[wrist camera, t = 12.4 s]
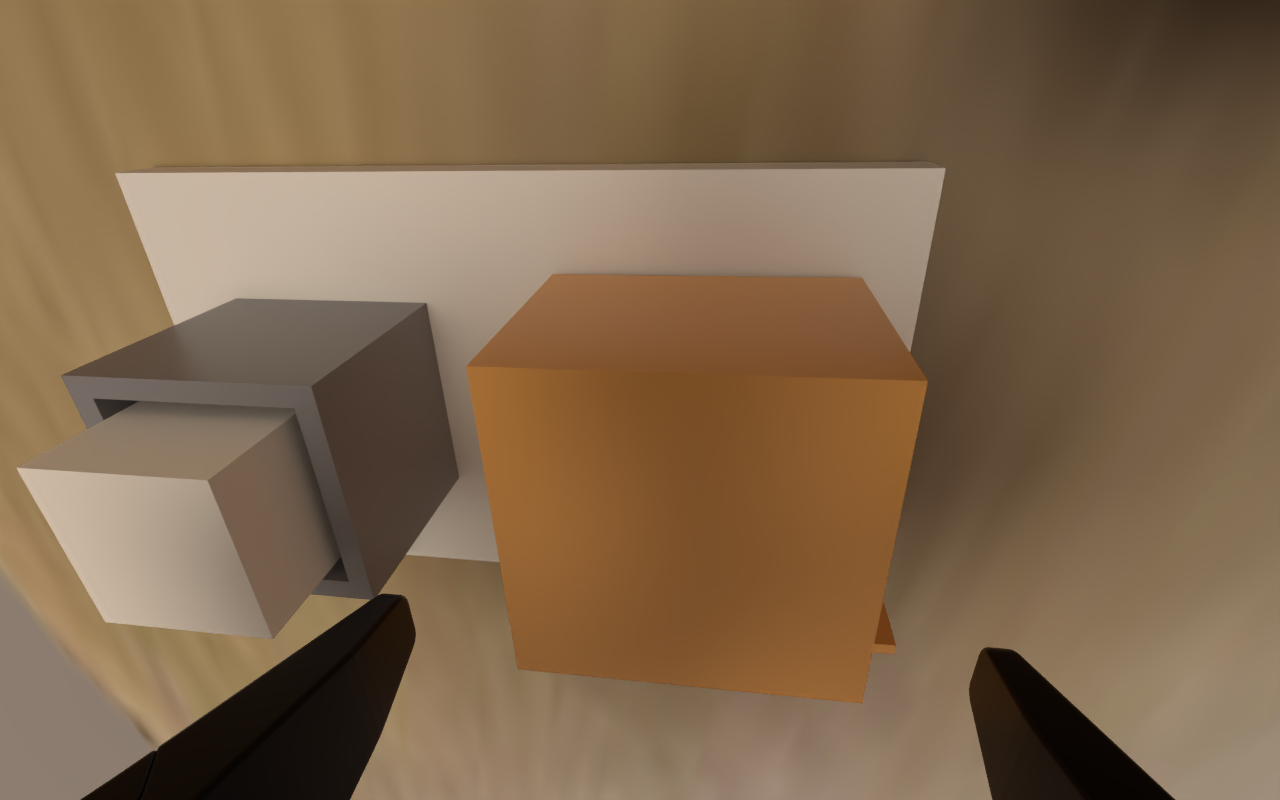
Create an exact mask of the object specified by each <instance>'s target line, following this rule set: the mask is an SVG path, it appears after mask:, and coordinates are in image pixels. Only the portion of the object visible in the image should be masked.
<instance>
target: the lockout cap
mask: <svg viewBox="0 0 1280 800" xmlns="http://www.w3.org/2000/svg"><path fill="white" fill-rule="evenodd" d="M466 369H467V375H468V381H469V387H470V393H471V398H472V404H473V410H474V416H475V422H476V428H477V433H478V439H479V445H480V451H481V457H482V463H483V468H484V474H485V480H486V486H487V492H488V498H489V503H490V509H491V515H492V521H493V527H494V533H495V538H496V544H497V550H498V556H499V562H500V568H501V573H502V579H503V585H504V591H505V597H506V603H507V608H508V614H509V620H510V626H511V632H512V638H513V643H514V649H515V655H516V661H517V667H518V669H522V670H532V671H542V672H552V673H562V674H572V675H582V676H592V677H602V678H612V679H622V680H632V681H642V682H652V683H662V684H672V685H682V686H692V687H702V688H712V689H722V690H732V691H742V692H752V693H762V694H772V695H782V696H792V697H802V698H812V699H822V700H832V701H842V702H852V703H862V701H863V696H864V691H865V686H866V682H867V677H868V672H869V667H870V662H871V657H872V652H873V647H874V643H875V638H876V633H877V628H878V623H879V618H880V613H881V608H882V603H883V599H884V594H885V589H886V584H887V579H888V574H889V569H890V564H891V559H892V555H893V550H894V545H895V540H896V535H897V530H898V525H899V520H900V516H901V511H902V506H903V501H904V496H905V491H906V486H907V481H908V476H909V472H910V467H911V462H912V457H913V452H914V447H915V442H916V437H917V432H918V428H919V423H920V418H921V413H922V408H923V403H924V398H925V393H926V388H927V384H928V380H927V379H926V377H925V376H924V374H923V372H922V371H921V369H920V368H919V366H918V365H917V363H916V361H915V360H914V358H913V357H912V355H911V354H910V352H909V350H908V349H907V347H906V346H905V344H904V342H903V341H902V339H901V338H900V336H899V335H898V333H897V331H896V330H895V328H894V327H893V325H892V324H891V322H890V320H889V319H888V317H887V316H886V314H885V313H884V311H883V309H882V308H881V306H880V305H879V303H878V301H877V300H876V298H875V297H874V295H873V294H872V292H871V290H870V289H869V287H868V286H867V284H866V283H865V281H864V279H863V278H842V277H750V276H658V275H566V274H552V275H551V276H550V277H549V278H548V280H547V281H546V282H545V283H544V284H543V285H542V286H541V287H540V288H539V289H538V290H537V291H536V292H535V293H534V294H533V295H532V297H531V298H530V299H529V300H528V301H527V302H526V303H525V304H524V305H523V306H522V307H521V308H520V309H519V310H518V311H517V313H516V314H515V315H514V316H513V317H512V318H511V319H510V320H509V321H508V322H507V323H506V324H505V325H504V326H503V327H502V329H501V330H500V331H499V332H498V333H497V334H496V335H495V336H494V337H493V338H492V339H491V340H490V341H489V342H488V343H487V344H486V346H485V347H484V348H483V349H482V350H481V351H480V352H479V353H478V354H477V355H476V356H475V357H474V358H473V359H472V360H471V362H470V363H469V364H468V365H467V366H466Z"/></svg>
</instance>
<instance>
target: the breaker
mask: <svg viewBox="0 0 1280 800" xmlns="http://www.w3.org/2000/svg"><path fill="white" fill-rule="evenodd" d="M17 470H18V472H19V474H20V475H21V477H22V479H23V480H24V482H25V484H26V486H27V487H28V489H29V491H30V493H31V494H32V496H33V498H34V500H35V501H36V503H37V505H38V506H39V508H40V510H41V512H42V513H43V515H44V517H45V519H46V520H47V522H48V524H49V526H50V527H51V529H52V531H53V532H54V534H55V536H56V538H57V539H58V541H59V543H60V545H61V546H62V548H63V550H64V551H65V553H66V555H67V557H68V558H69V560H70V562H71V564H72V565H73V567H74V569H75V571H76V572H77V574H78V576H79V577H80V579H81V581H82V583H83V584H84V586H85V588H86V590H87V591H88V593H89V595H90V597H91V598H92V600H93V602H94V603H95V605H96V607H97V609H98V610H99V612H100V614H101V616H102V617H103V619H104V621H105V622H110V623H120V624H130V625H140V626H149V627H159V628H169V629H178V630H188V631H198V632H208V633H217V634H227V635H237V636H247V637H256V638H266V639H274V637H275V636H276V635H277V634H278V633H279V631H280V630H281V629H282V628H283V627H284V625H285V624H286V623H287V622H288V621H289V619H290V618H291V617H292V616H293V614H294V613H295V612H296V611H297V610H298V608H299V607H300V606H301V605H302V604H303V602H304V601H305V600H306V599H307V598H308V596H309V595H310V594H311V593H312V591H313V590H314V589H315V588H316V587H317V585H318V584H319V583H320V582H321V581H322V579H323V578H324V577H325V576H326V575H327V573H328V572H329V571H330V570H331V568H332V567H333V566H334V565H335V564H336V562H337V561H338V560H339V559H340V558H341V555H340V552H339V549H338V545H337V542H336V539H335V536H334V533H333V530H332V526H331V523H330V520H329V517H328V514H327V510H326V507H325V504H324V501H323V498H322V495H321V491H320V488H319V485H318V482H317V479H316V476H315V472H314V469H313V466H312V463H311V460H310V457H309V453H308V450H307V447H306V444H305V441H304V438H303V434H302V431H301V428H300V425H299V422H298V418H297V415H296V412H295V409H294V408H278V407H257V406H237V405H216V404H196V403H175V402H155V401H139V402H137V403H135V404H133V405H131V406H129V407H128V408H126V409H124V410H122V411H120V412H118V413H116V414H115V415H113V416H111V417H109V418H107V419H105V420H103V421H102V422H100V423H98V424H96V425H94V426H92V427H91V428H89V429H87V430H85V431H83V432H81V433H79V434H78V435H76V436H74V437H72V438H70V439H68V440H66V441H65V442H63V443H61V444H59V445H57V446H55V447H54V448H52V449H50V450H48V451H46V452H44V453H42V454H41V455H39V456H37V457H35V458H33V459H31V460H29V461H28V462H26V463H24V464H22V465H20V466H18V467H17Z"/></svg>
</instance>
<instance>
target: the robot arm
mask: <svg viewBox="0 0 1280 800" xmlns="http://www.w3.org/2000/svg"><path fill="white" fill-rule="evenodd" d="M415 637H416V631H415V626H414V622H413V619H412V615H411V611H410V607H409V603H408V600H407V599H406V598H405V597H404V596H402V595H394V594H380V595H378V596H376V597H375V598H373V599H372V600H370V601H369V602H367V603H366V604H364V605H363V606H362V607H360V608H359V609H357V610H356V611H354V612H353V613H351V614H350V615H349V616H347V617H346V618H344V619H343V620H341V621H340V622H338V623H337V624H336V625H334V626H333V627H331V628H330V629H328V630H327V631H325V632H324V633H323V634H321V635H320V636H318V637H317V638H315V639H314V640H312V641H311V642H310V643H308V644H307V645H305V646H304V647H302V648H301V649H299V650H298V651H296V652H295V653H294V654H292V655H291V656H289V657H288V658H286V659H285V660H283V661H282V662H281V663H279V664H278V665H276V666H275V667H273V668H272V669H270V670H269V671H268V672H266V673H265V674H263V675H262V676H260V677H259V678H257V679H256V680H255V681H253V682H252V683H250V684H249V685H247V686H246V687H244V688H243V689H242V690H240V691H239V692H237V693H236V694H234V695H233V696H231V697H230V698H229V699H227V700H226V701H224V702H223V703H221V704H220V705H218V706H217V707H216V708H214V709H213V710H211V711H210V712H208V713H207V714H205V715H204V716H202V717H201V718H200V719H198V720H197V721H195V722H194V723H192V724H191V725H189V726H188V727H187V728H185V729H184V730H182V731H181V732H179V733H178V734H176V735H175V736H174V737H172V738H171V739H169V740H168V741H166V742H165V743H163V744H162V745H161V746H159V748H158V750H157V751H152V752H150V753H149V754H147V755H146V756H144V757H143V758H141V759H140V760H139V761H137V762H136V763H134V764H133V765H131V766H130V767H129V768H127V769H126V770H124V771H123V772H121V773H120V774H118V775H117V776H115V777H114V778H112V779H111V780H109V781H108V782H106V783H105V784H103V785H102V786H100V787H99V788H97V789H96V790H94V791H93V792H91V793H90V794H88V795H87V796H85V797H84V798H82V799H81V800H350V799H351V796H352V794H353V792H354V790H355V788H356V786H357V784H358V782H359V780H360V778H361V776H362V774H363V772H364V770H365V767H366V765H367V763H368V761H369V759H370V757H371V755H372V753H373V751H374V749H375V746H376V744H377V742H378V740H379V738H380V735H381V733H382V730H383V728H384V725H385V723H386V720H387V718H388V715H389V712H390V709H391V707H392V704H393V701H394V698H395V696H396V693H397V690H398V687H399V685H400V682H401V679H402V677H403V674H404V671H405V668H406V666H407V663H408V660H409V657H410V655H411V652H412V649H413V646H414V643H415ZM969 696H970V703H971V707H972V712H973V716H974V721H975V725H976V729H977V734H978V738H979V743H980V747H981V752H982V756H983V761H984V765H985V769H986V774H987V778H988V783H989V787H990V792H991V796H992V800H1175V799H1174V798H1173V797H1172V796H1171V795H1170V794H1168V793H1167V792H1166V791H1165V790H1164V789H1163V788H1162V787H1161V786H1160V785H1159V784H1158V783H1157V782H1156V781H1155V780H1153V779H1152V778H1151V777H1150V776H1149V775H1148V774H1147V773H1146V772H1145V771H1144V770H1143V769H1142V768H1141V767H1140V766H1138V765H1137V764H1136V763H1135V762H1134V761H1133V760H1132V759H1131V758H1130V757H1129V756H1128V755H1127V754H1126V753H1125V752H1123V751H1122V750H1121V749H1120V748H1119V747H1118V746H1117V745H1116V744H1115V743H1114V742H1113V741H1112V740H1111V739H1110V738H1108V737H1107V736H1106V735H1105V734H1104V733H1103V732H1102V731H1101V730H1100V729H1099V728H1098V727H1097V726H1096V725H1095V724H1093V723H1092V722H1091V721H1090V720H1089V719H1088V718H1087V717H1086V716H1085V715H1084V714H1083V713H1082V712H1081V711H1080V710H1078V709H1077V708H1076V707H1075V706H1074V705H1073V704H1072V703H1071V702H1070V701H1069V700H1068V699H1067V698H1066V697H1064V696H1063V695H1062V694H1061V693H1060V692H1059V691H1058V690H1057V689H1056V688H1055V687H1054V686H1053V685H1052V684H1051V683H1049V682H1048V681H1047V680H1046V679H1045V678H1044V677H1043V676H1042V675H1041V674H1040V673H1039V672H1038V671H1037V670H1036V669H1034V668H1033V667H1032V666H1031V665H1030V664H1029V663H1028V662H1027V661H1026V660H1025V659H1024V658H1023V657H1022V656H1021V655H1019V654H1018V653H1017V652H1015V651H1013V650H1010V649H1002V648H991V647H987V648H984V649H983V650H982V651H981V652H980V654H979V657H978V660H977V663H976V666H975V670H974V673H973V676H972V679H971V682H970V687H969Z"/></svg>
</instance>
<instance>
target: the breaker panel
mask: <svg viewBox="0 0 1280 800" xmlns="http://www.w3.org/2000/svg"><path fill="white" fill-rule="evenodd" d="M945 170H946V168H944V167H942V166H939V165H937V164H935V163H932V162H795V163H658V164H522V165H385V166H249V167H152V168H146V169H139V170H132V171H126V172H119V173H115V174H116V177H117V179H118V182H119V184H120V187H121V189H122V192H123V195H124V197H125V200H126V202H127V205H128V207H129V210H130V213H131V215H132V218H133V220H134V223H135V225H136V228H137V231H138V233H139V236H140V238H141V241H142V243H143V246H144V249H145V251H146V254H147V256H148V259H149V261H150V264H151V267H152V269H153V272H154V274H155V277H156V279H157V282H158V285H159V287H160V290H161V292H162V295H163V297H164V300H165V303H166V305H167V308H168V310H169V313H170V315H171V318H172V321H173V323H174V326H172V327H170V328H168V329H165V330H163V331H161V332H159V333H156V334H154V335H152V336H149V337H147V338H145V339H143V340H140V341H138V342H136V343H134V344H131V345H129V346H127V347H124V348H122V349H120V350H118V351H115V352H113V353H111V354H109V355H106V356H104V357H102V358H99V359H97V360H95V361H93V362H90V363H88V364H86V365H83V366H81V367H79V368H77V369H74V370H72V371H70V372H68V373H65V374H63V375H61V377H62V379H63V381H64V383H65V385H66V387H67V389H68V391H69V393H70V395H71V397H72V399H73V401H74V403H75V405H76V407H77V409H78V411H79V413H80V415H81V417H82V419H83V421H84V423H85V425H86V427H87V429H89V428H91V427H92V426H94V425H96V424H98V423H100V422H102V421H103V420H105V419H107V418H109V417H111V416H113V415H115V414H116V413H118V412H120V411H122V410H124V409H126V408H128V407H129V406H131V405H133V404H135V403H137V402H139V401H155V402H175V403H196V404H216V405H237V406H257V407H278V408H294V409H295V412H296V415H297V418H298V422H299V425H300V428H301V431H302V434H303V438H304V441H305V444H306V447H307V450H308V453H309V457H310V460H311V463H312V466H313V469H314V472H315V476H316V479H317V482H318V485H319V488H320V491H321V495H322V498H323V501H324V504H325V507H326V510H327V514H328V517H329V520H330V523H331V526H332V530H333V533H334V536H335V539H336V542H337V545H338V549H339V552H340V555H341V558H340V559H339V560H338V561H337V562H336V564H335V565H334V566H333V567H332V568H331V570H330V571H329V572H328V573H327V575H326V576H325V577H324V578H323V579H322V581H321V582H320V583H319V584H318V585H317V587H316V588H315V589H314V590H313V591H312V593H311V594H315V595H325V596H336V597H347V598H358V599H369V600H372V599H373V598H375V597H376V596H377V595H378V594H379V592H380V591H381V589H382V588H383V587H384V585H385V584H386V582H387V581H388V579H389V578H390V577H391V575H392V574H393V572H394V571H395V569H396V568H397V566H398V565H399V564H400V562H401V561H402V559H403V558H404V556H405V555H416V556H428V557H441V558H453V559H466V560H478V561H490V562H499V556H498V550H497V544H496V538H495V533H494V527H493V521H492V515H491V509H490V503H489V498H488V492H487V486H486V480H485V474H484V468H483V463H482V457H481V451H480V445H479V439H478V433H477V428H476V422H475V416H474V410H473V404H472V398H471V393H470V387H469V381H468V375H467V369H466V366H467V365H468V364H469V363H470V362H471V360H472V359H473V358H474V357H475V356H476V355H477V354H478V353H479V352H480V351H481V350H482V349H483V348H484V347H485V346H486V344H487V343H488V342H489V341H490V340H491V339H492V338H493V337H494V336H495V335H496V334H497V333H498V332H499V331H500V330H501V329H502V327H503V326H504V325H505V324H506V323H507V322H508V321H509V320H510V319H511V318H512V317H513V316H514V315H515V314H516V313H517V311H518V310H519V309H520V308H521V307H522V306H523V305H524V304H525V303H526V302H527V301H528V300H529V299H530V298H531V297H532V295H533V294H534V293H535V292H536V291H537V290H538V289H539V288H540V287H541V286H542V285H543V284H544V283H545V282H546V281H547V280H548V278H549V277H550V276H551V275H552V274H566V275H658V276H750V277H842V278H863V279H864V281H865V283H866V284H867V286H868V287H869V289H870V290H871V292H872V294H873V295H874V297H875V298H876V300H877V301H878V303H879V305H880V306H881V308H882V309H883V311H884V313H885V314H886V316H887V317H888V319H889V320H890V322H891V324H892V325H893V327H894V328H895V330H896V331H897V333H898V335H899V336H900V338H901V339H902V341H903V342H904V344H905V346H906V347H907V349H908V350H909V352H910V351H911V346H912V341H913V336H914V331H915V325H916V320H917V315H918V310H919V305H920V300H921V294H922V289H923V284H924V279H925V274H926V268H927V263H928V258H929V253H930V248H931V242H932V237H933V232H934V227H935V222H936V216H937V211H938V206H939V201H940V196H941V190H942V185H943V180H944V175H945ZM895 648H896V644H895V641H894V637H893V633H892V630H891V626H890V623H889V619H888V616H887V612H886V609H885V605H884V602H883V603H882V608H881V613H880V618H879V623H878V628H877V633H876V638H875V643H874V647H873V652H875V653H885V654H894V652H895Z"/></svg>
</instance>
